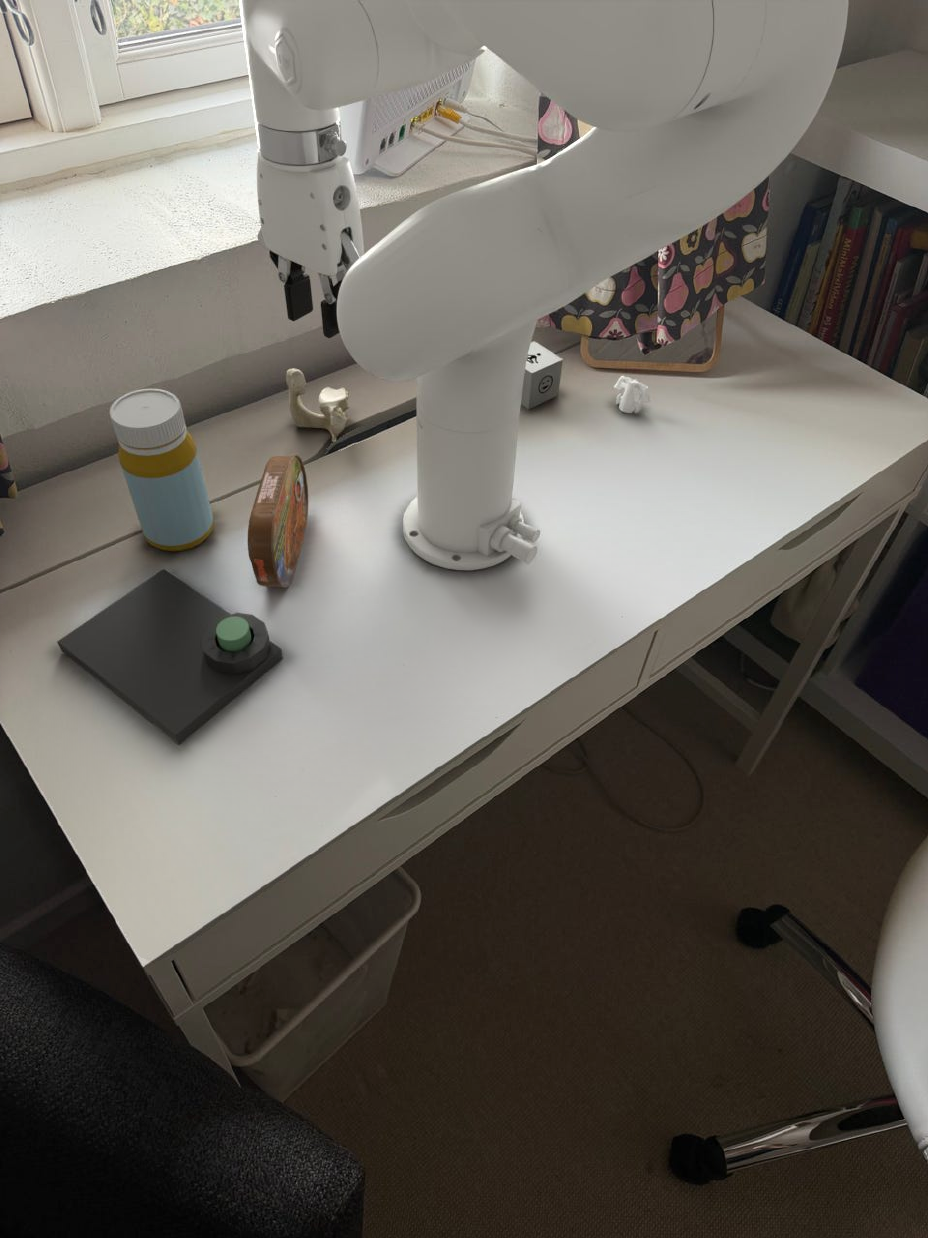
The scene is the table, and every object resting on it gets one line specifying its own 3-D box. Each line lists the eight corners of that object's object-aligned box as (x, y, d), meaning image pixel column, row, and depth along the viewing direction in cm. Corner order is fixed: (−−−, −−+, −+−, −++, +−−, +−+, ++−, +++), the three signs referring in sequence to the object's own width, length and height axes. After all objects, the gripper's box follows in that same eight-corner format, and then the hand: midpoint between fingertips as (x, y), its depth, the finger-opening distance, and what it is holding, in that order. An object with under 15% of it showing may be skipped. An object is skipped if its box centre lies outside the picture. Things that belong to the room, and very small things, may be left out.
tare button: (258, 638, 78) (255, 626, 77) (234, 657, 76) (231, 645, 75) (236, 623, 79) (233, 611, 78) (212, 641, 77) (209, 630, 76)
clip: (648, 413, 107) (654, 386, 104) (640, 419, 106) (646, 392, 103) (614, 397, 109) (619, 370, 106) (605, 403, 108) (610, 376, 105)
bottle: (198, 559, 88) (165, 435, 77) (133, 548, 88) (90, 424, 77) (225, 514, 92) (197, 391, 81) (162, 504, 93) (126, 381, 82)
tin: (286, 606, 84) (274, 541, 78) (253, 604, 84) (239, 539, 78) (312, 502, 94) (304, 437, 88) (283, 501, 94) (272, 436, 88)
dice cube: (501, 390, 109) (503, 354, 105) (530, 376, 111) (534, 341, 108) (528, 409, 107) (531, 373, 103) (558, 395, 109) (562, 359, 105)
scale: (286, 656, 80) (282, 634, 78) (179, 745, 73) (171, 724, 71) (169, 576, 86) (163, 554, 84) (61, 651, 79) (50, 629, 77)
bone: (382, 414, 102) (341, 365, 93) (352, 459, 102) (308, 415, 93) (331, 390, 106) (287, 341, 97) (302, 433, 106) (255, 388, 97)
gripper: (397, 151, 78) (402, 337, 92) (264, 105, 85) (287, 285, 99) (339, 177, 74) (353, 367, 88) (204, 126, 81) (236, 311, 94)
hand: (318, 322), depth 93 cm, fingers open, 4 cm apart
